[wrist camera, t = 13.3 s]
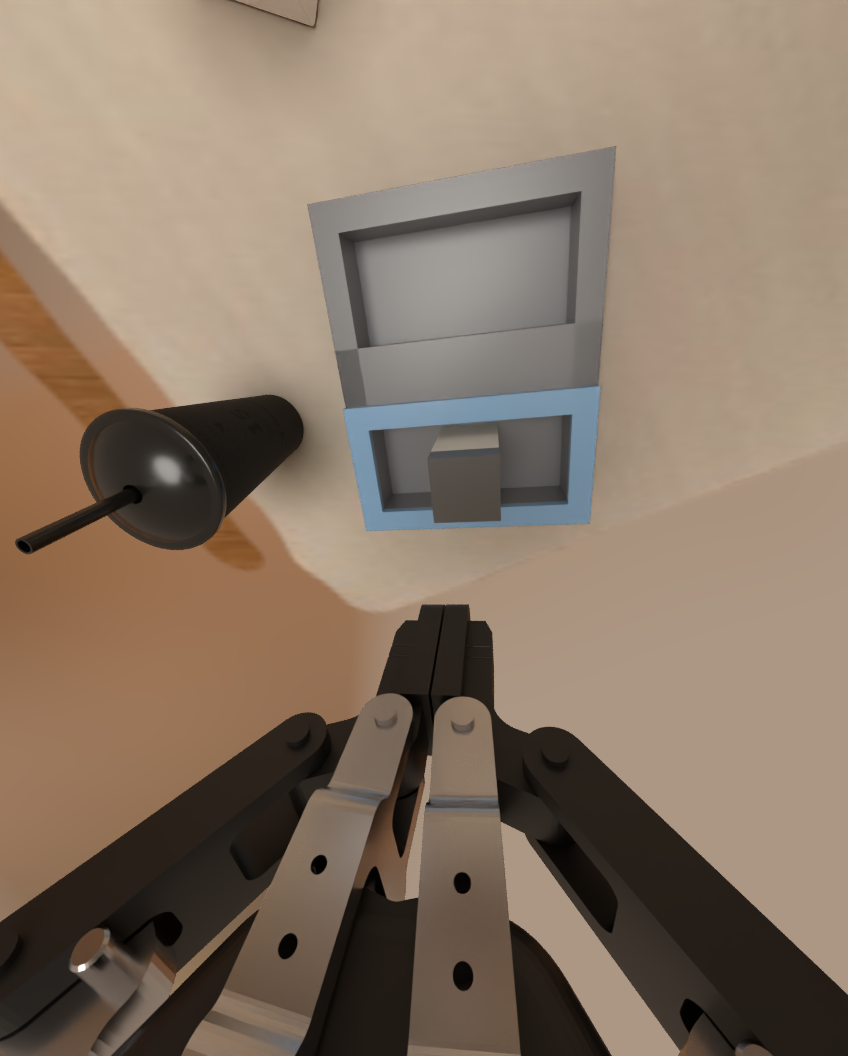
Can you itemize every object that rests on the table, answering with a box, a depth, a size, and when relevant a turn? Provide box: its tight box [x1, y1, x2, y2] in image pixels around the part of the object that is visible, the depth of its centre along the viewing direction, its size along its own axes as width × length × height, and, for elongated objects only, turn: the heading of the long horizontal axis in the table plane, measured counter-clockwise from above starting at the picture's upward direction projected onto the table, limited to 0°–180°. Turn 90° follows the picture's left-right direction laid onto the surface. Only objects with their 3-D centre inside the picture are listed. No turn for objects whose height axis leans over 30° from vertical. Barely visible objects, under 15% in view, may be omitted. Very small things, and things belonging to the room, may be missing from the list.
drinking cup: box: [15, 395, 303, 554], centre depth 24 cm, size 8×8×20 cm
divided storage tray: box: [307, 146, 616, 531], centre depth 27 cm, size 16×20×5 cm
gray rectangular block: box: [427, 423, 501, 523], centre depth 27 cm, size 4×4×8 cm
